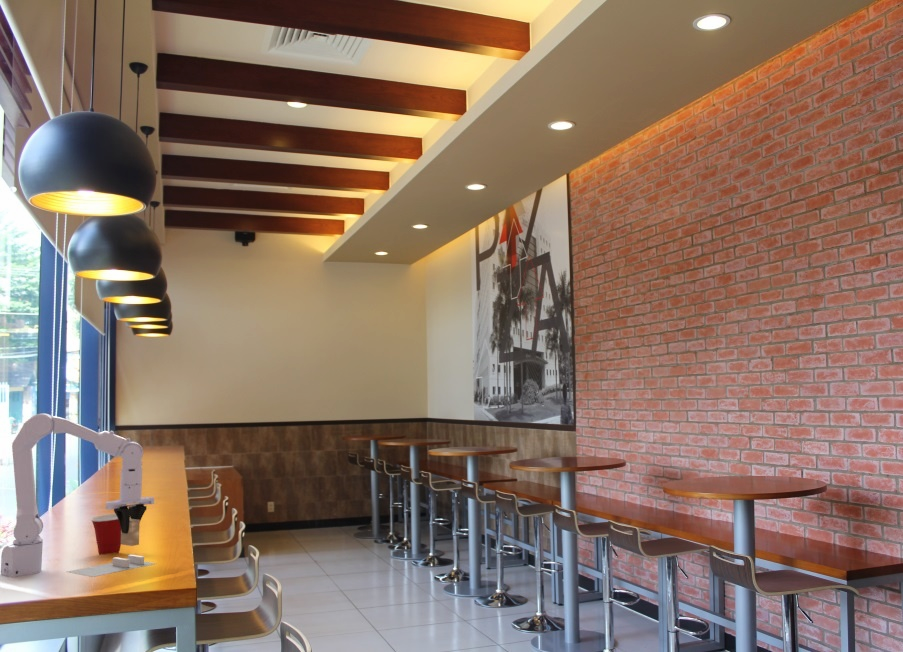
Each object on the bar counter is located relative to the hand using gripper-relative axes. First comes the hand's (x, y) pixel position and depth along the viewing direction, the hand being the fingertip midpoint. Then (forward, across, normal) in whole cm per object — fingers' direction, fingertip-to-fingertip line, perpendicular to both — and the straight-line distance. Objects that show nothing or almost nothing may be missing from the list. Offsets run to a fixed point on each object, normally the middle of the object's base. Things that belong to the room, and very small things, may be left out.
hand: (129, 532), depth 226 cm
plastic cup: (+10, +9, +23) cm, 27 cm away
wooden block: (+3, 0, 0) cm, 3 cm away
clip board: (+10, -5, 0) cm, 11 cm away
